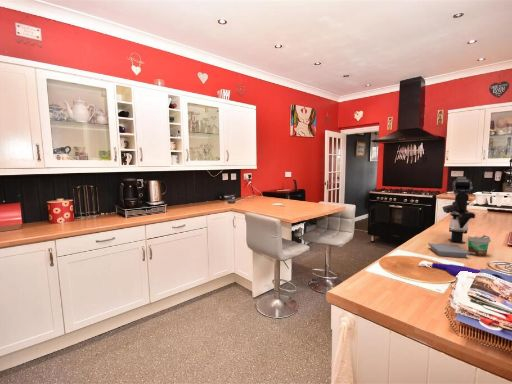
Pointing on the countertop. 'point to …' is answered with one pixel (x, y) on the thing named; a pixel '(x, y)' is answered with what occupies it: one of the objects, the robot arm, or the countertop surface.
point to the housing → (457, 224)
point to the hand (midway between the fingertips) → (458, 227)
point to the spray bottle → (448, 267)
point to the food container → (478, 245)
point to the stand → (448, 250)
